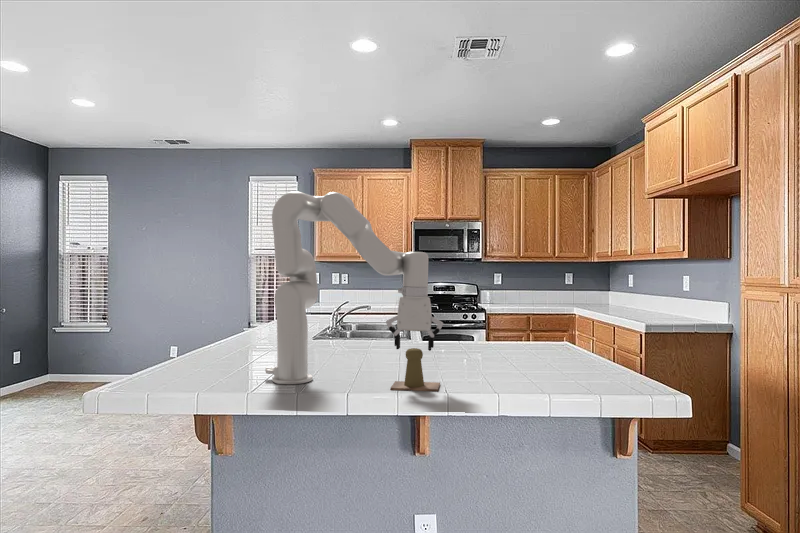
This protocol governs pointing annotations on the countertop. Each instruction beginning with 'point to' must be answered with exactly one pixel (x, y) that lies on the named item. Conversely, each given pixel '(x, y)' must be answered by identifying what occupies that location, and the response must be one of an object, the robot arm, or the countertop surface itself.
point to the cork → (414, 368)
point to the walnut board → (427, 387)
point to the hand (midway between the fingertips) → (413, 349)
